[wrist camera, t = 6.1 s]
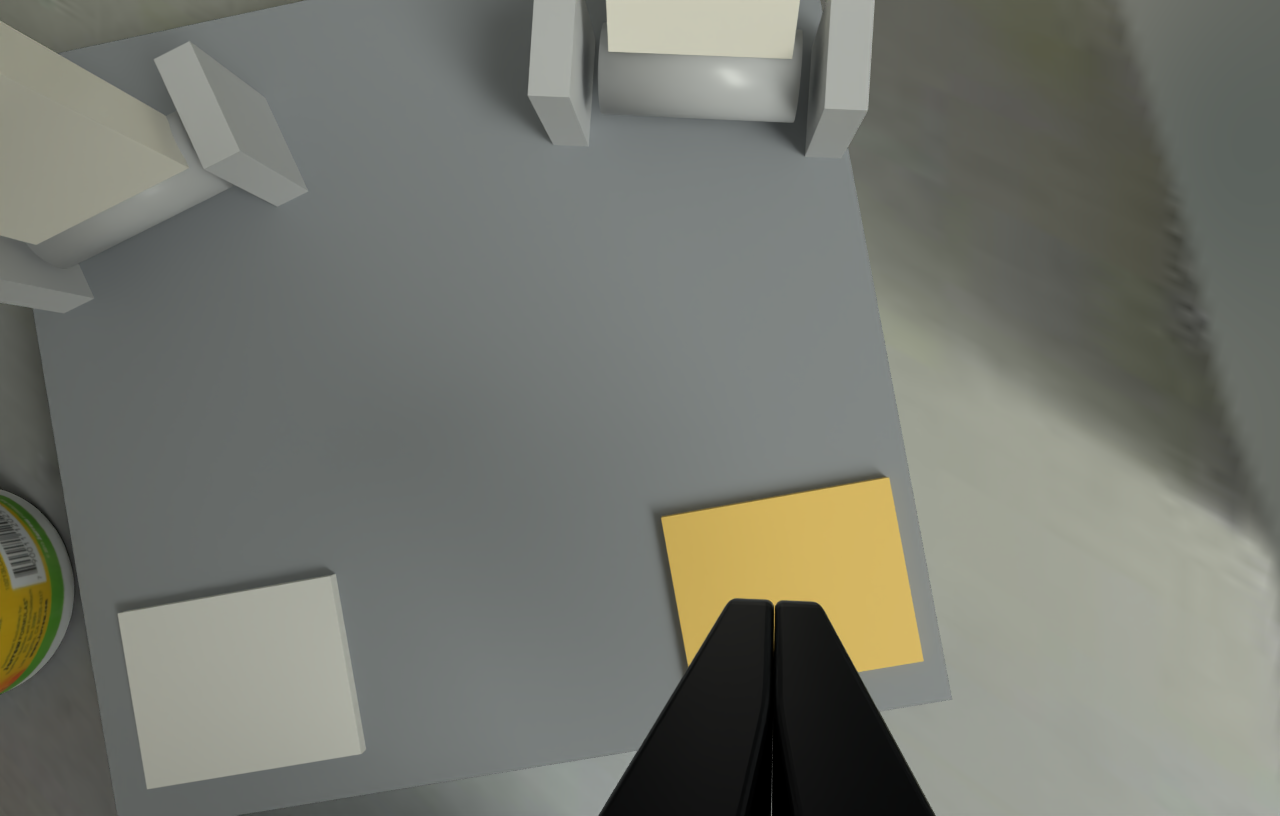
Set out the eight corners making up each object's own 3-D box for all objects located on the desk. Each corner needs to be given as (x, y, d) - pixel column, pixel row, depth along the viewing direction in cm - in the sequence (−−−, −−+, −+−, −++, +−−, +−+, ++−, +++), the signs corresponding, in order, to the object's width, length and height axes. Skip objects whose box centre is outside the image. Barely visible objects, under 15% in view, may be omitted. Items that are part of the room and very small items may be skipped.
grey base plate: (946, 671, 22) (1021, 748, 17) (169, 799, 23) (19, 906, 18) (807, -63, 23) (840, -206, 18) (51, 96, 24) (-128, 7, 19)
